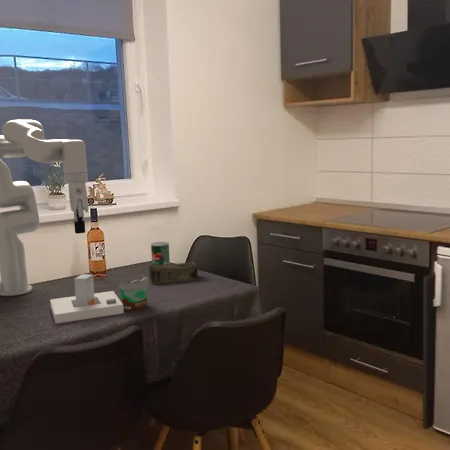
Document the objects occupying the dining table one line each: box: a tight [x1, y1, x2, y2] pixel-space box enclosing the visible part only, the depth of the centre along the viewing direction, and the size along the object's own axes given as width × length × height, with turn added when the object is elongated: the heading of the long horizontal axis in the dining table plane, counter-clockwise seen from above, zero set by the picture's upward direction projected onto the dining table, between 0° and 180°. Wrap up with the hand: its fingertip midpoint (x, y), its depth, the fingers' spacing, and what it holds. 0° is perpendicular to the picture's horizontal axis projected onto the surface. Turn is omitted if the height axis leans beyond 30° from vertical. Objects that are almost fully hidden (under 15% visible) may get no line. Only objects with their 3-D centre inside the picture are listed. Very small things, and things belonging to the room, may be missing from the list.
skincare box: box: [74, 273, 95, 307], centre depth 188 cm, size 6×4×12 cm
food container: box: [118, 274, 150, 312], centre depth 188 cm, size 12×6×10 cm, turn 148°
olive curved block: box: [148, 261, 199, 285], centre depth 223 cm, size 8×19×7 cm, turn 105°
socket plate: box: [49, 290, 125, 324], centre depth 188 cm, size 22×18×4 cm
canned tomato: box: [150, 241, 171, 266], centre depth 244 cm, size 8×8×11 cm
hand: (80, 232), depth 184 cm, fingers closed
